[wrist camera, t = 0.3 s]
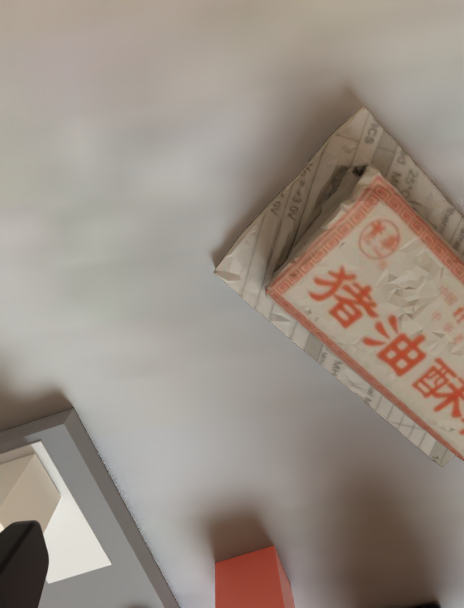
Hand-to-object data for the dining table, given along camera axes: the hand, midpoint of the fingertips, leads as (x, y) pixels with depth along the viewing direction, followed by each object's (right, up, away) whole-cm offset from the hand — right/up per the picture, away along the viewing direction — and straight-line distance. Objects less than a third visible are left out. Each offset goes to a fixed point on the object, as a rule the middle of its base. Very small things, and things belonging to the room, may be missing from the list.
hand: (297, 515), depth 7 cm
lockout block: (0, -14, +19) cm, 24 cm away
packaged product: (+8, +4, +15) cm, 17 cm away
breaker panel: (-11, -11, +17) cm, 23 cm away
